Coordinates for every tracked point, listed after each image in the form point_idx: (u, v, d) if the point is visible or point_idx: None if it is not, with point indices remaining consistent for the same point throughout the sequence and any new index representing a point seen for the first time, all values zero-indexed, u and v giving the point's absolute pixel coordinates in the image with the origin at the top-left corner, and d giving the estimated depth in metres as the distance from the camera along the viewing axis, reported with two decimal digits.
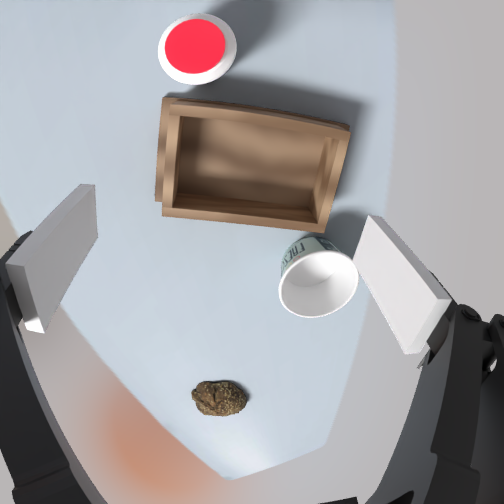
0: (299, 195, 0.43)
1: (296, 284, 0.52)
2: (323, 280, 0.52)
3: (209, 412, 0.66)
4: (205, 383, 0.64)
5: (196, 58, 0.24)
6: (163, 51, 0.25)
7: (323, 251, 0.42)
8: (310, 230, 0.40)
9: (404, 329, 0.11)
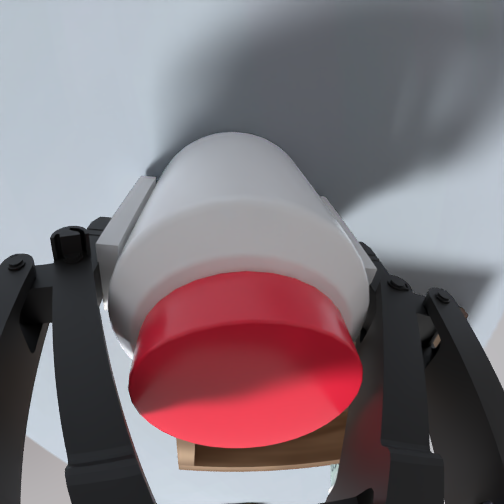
0: None
1: None
2: None
3: None
4: None
5: (255, 427, 0.07)
6: (129, 349, 0.08)
7: None
8: None
9: None
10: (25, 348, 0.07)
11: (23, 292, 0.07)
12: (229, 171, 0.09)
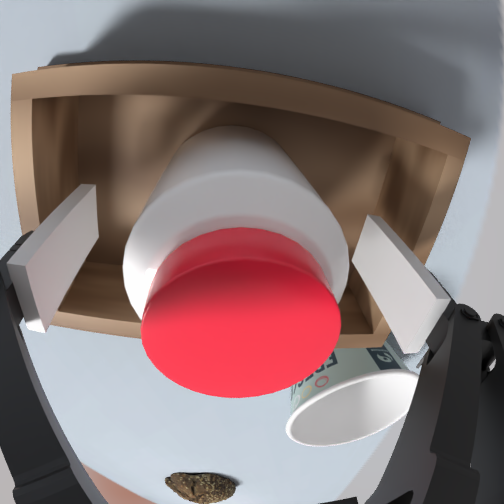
0: None
1: None
2: None
3: None
4: (180, 475, 0.42)
5: (249, 372, 0.09)
6: (140, 304, 0.10)
7: (374, 375, 0.19)
8: (357, 346, 0.18)
9: (403, 329, 0.11)
10: None
11: None
12: (228, 154, 0.10)
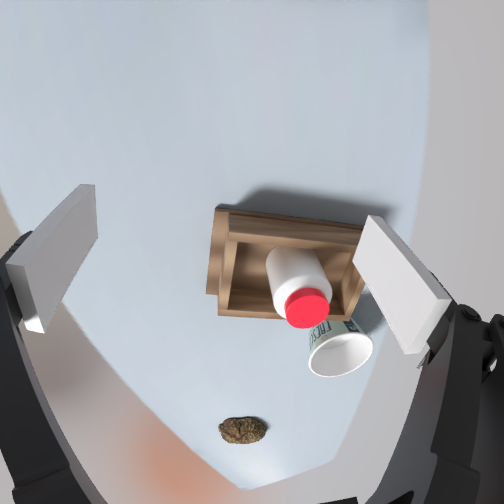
0: None
1: (320, 347, 0.59)
2: (342, 343, 0.59)
3: (233, 441, 0.74)
4: (231, 419, 0.71)
5: (308, 320, 0.39)
6: (280, 304, 0.39)
7: (346, 333, 0.49)
8: (338, 320, 0.48)
9: (404, 329, 0.11)
10: None
11: None
12: (301, 264, 0.40)
